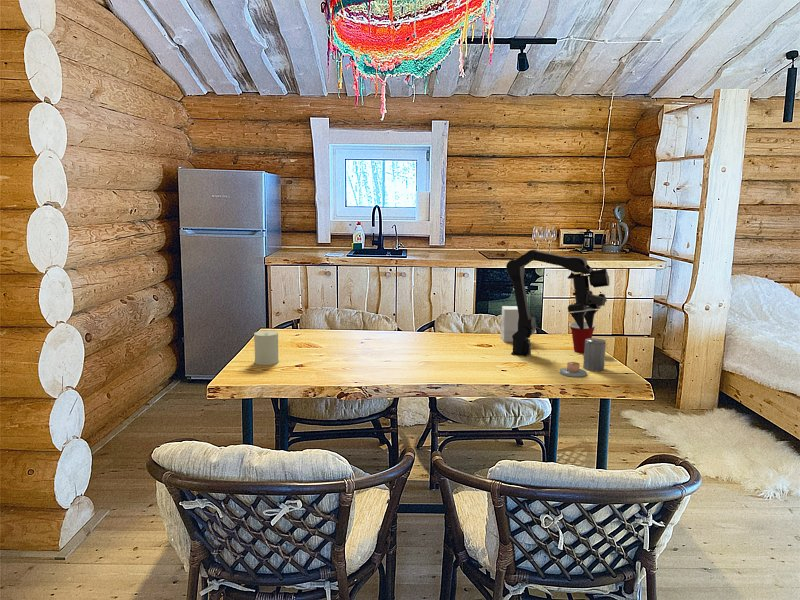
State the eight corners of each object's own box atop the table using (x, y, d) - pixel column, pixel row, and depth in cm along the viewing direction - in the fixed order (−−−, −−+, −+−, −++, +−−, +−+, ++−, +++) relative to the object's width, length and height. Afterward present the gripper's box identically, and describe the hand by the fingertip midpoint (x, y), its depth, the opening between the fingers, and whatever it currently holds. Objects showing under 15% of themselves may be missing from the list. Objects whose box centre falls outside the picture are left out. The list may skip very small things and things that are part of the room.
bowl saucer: (556, 374, 234) (556, 364, 234) (563, 368, 243) (564, 358, 242) (582, 378, 230) (583, 368, 229) (589, 372, 238) (589, 362, 237)
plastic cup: (562, 349, 272) (563, 321, 270) (583, 347, 276) (585, 320, 274) (577, 355, 262) (579, 327, 260) (599, 353, 266) (601, 325, 264)
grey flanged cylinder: (581, 369, 242) (583, 341, 240) (586, 364, 248) (588, 337, 246) (601, 372, 238) (603, 343, 236) (605, 367, 244) (607, 339, 243)
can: (255, 366, 240) (254, 335, 238) (253, 359, 249) (253, 329, 247) (279, 364, 242) (279, 333, 240) (277, 358, 251) (277, 328, 249)
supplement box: (520, 337, 292) (521, 305, 290) (523, 342, 284) (525, 309, 281) (500, 337, 293) (501, 305, 290) (503, 342, 284) (504, 309, 281)
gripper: (593, 287, 236) (598, 329, 235) (610, 286, 251) (614, 325, 250) (565, 290, 242) (569, 331, 242) (582, 289, 257) (587, 328, 257)
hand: (586, 329), depth 247 cm, fingers open, 9 cm apart
